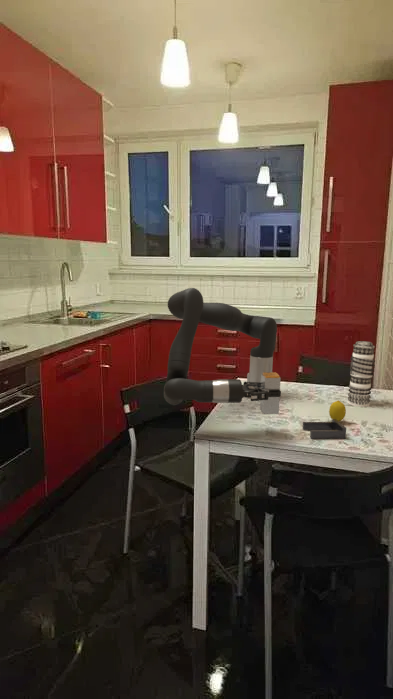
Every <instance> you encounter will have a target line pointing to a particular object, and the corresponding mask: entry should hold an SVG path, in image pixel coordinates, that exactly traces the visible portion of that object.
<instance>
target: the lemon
mask: <svg viewBox="0 0 393 699" xmlns="http://www.w3.org/2000/svg"><path fill="white" fill-rule="evenodd" d="M346 410H347V409H346V406H345V404H344V403H343V402H342V401H340V400H336V401H333V402H332V403H331V404H330V406H329V411H328V413H329V417H330V418H331V420H332V419H337V420H338V421H339V422H340V421H342V420H344V419H345V417H346V414H347V413H346V412H347V411H346Z"/></svg>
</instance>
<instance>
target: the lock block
mask: <svg viewBox="0 0 393 699" xmlns="http://www.w3.org/2000/svg"><path fill="white" fill-rule="evenodd" d="M281 379H282V378H281V376H280V375H279V373H277V372H276V371H275V372H274V371H272V372H263V374H261V388H262V389H264V390H280V391H281ZM262 395H265V394H262ZM280 397H281V396H280ZM280 397H269V398H268V400H260V401H259V410H260V412H261V413H262V415H279V414H280V413H279V412H280Z"/></svg>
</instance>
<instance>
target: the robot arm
mask: <svg viewBox="0 0 393 699" xmlns="http://www.w3.org/2000/svg"><path fill="white" fill-rule="evenodd" d="M167 309H168V311H169V312H170V313H171V315H172V316H173V317H175V318H177V319H180V320H181V321H182V322H181V324H180V327H179V329H178V331H177V333H176V335H175V337H174V339H173V340H172V343H171V346H170V349H169V352H168V353H169V354H168V358H167V359H168V360H167V375H166V381H165V384H164V386H163V398H164V400H165V401H166V402H167V403H168V404H170V405H172V406H176V405H179V404H181V403H182V402H184V400H185V401H195V402H197V403H216V404H238V403H239V404H240V403H242V401H243V398H245V399H250V401H251V402H257V401H259V402H260V400H268V398H269V397H281V396H282V390H281V389H280V390H264V389H262V388H261V374H263V372H273V362H274V360H273V359H274V352H275V349H276V342H277V335H278V334H277V332H278V326H277V320H275V319H274V318H272V317H269V316H263V315H262V316H260V315H250V314H245V313H243V312H242V311H241V310H240V309H239V308H237V307H236V306H233V305H231V304H227V303H223V302H204V297H203V294H202V292H201V291H200V290H198V288H195V287H189V288H184V289H183V290H180V291H178V292H176V293H173V295H171V296H170V297H169V298H168V300H167ZM199 323H203V324H205V325H208V326H213V327H214V328H215V327H216V328H218V329H222V330H226V331H231V332H240V333H242V334H245V335H247V336H249V337H251V338H253V339H258V340H259V344H258V345H257V346H255V347H252V348H251V349H250V353H249V354H250V356H249V372H247V375H246V381H243V382H242V380H241V379H238V378H237V379H232V378H231V379H228V378H227V379H213V380H211V379H209V380H207V379H206V380H196V379H190V378H188V373H189V370H190V363H191V355H192V349H193V344H194V340H195V336H196V333H197V329H198V326H199ZM262 394H265V395H262Z"/></svg>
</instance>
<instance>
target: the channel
mask: <svg viewBox="0 0 393 699" xmlns="http://www.w3.org/2000/svg"><path fill="white" fill-rule="evenodd" d="M301 428H302V430H303V431H310V432H309V438H310V439H311V440H330V439H331V440H332V439H333V440H336V439H337V440H341V439H346V438H347V437H346V436H347V427H346V426H344V425H343V424H342V422H340V421H338V420H337V419H332V418H331V421H302V427H301Z"/></svg>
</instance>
